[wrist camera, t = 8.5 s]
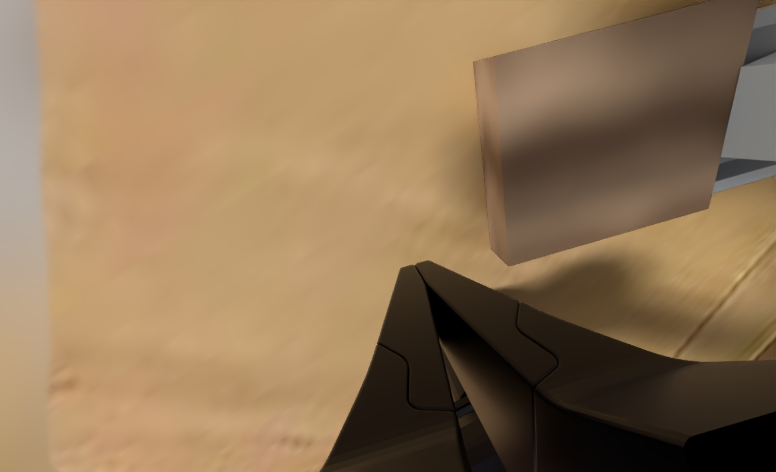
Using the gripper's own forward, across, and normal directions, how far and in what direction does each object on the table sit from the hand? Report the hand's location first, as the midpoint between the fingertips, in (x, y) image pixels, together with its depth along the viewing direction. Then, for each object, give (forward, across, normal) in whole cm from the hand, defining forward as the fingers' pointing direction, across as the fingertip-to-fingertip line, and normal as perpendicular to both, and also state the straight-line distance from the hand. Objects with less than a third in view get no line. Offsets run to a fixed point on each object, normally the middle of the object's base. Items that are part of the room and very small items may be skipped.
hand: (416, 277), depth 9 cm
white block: (+9, -23, +1) cm, 25 cm away
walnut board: (+11, -14, +1) cm, 18 cm away
